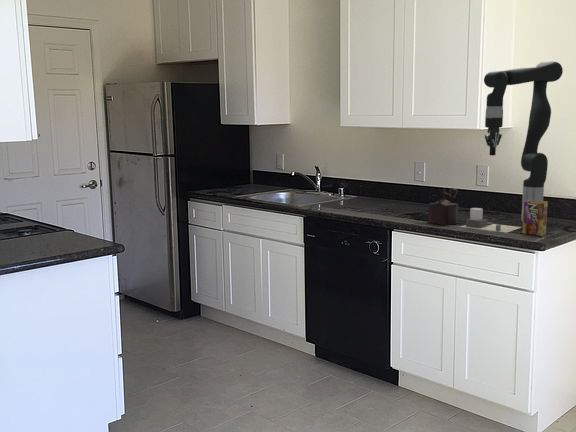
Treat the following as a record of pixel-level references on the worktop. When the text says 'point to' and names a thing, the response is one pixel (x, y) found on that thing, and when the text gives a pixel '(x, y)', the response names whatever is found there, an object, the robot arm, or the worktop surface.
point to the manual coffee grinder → (444, 210)
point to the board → (488, 226)
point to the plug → (476, 214)
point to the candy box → (535, 217)
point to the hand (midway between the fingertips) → (492, 155)
